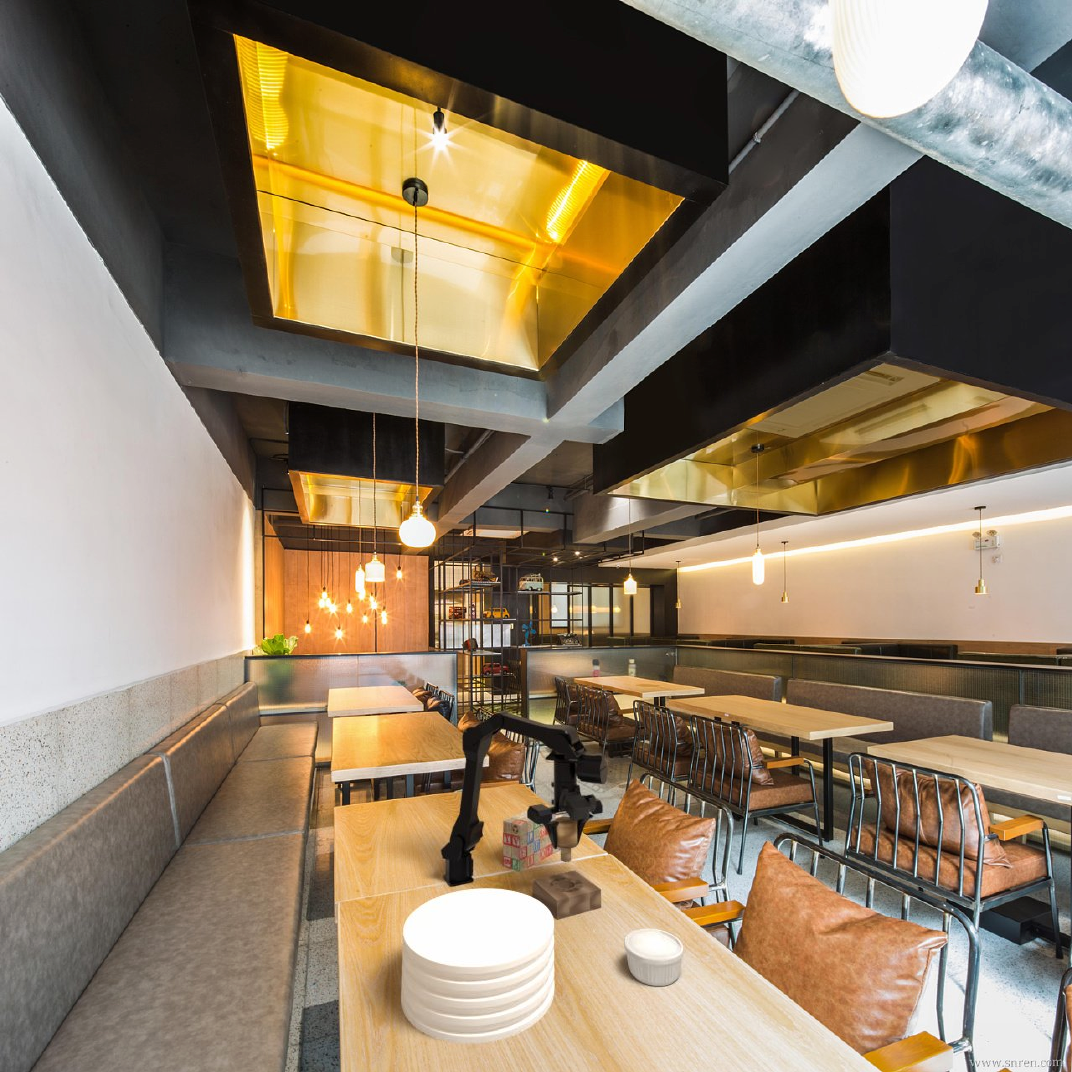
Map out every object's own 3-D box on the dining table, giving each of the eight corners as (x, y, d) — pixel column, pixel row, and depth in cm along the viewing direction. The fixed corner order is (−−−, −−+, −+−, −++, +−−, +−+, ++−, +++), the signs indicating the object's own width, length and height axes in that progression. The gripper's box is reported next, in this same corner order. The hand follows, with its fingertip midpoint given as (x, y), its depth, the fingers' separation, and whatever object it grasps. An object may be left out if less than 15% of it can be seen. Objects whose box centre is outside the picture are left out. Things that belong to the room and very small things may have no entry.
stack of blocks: (547, 843, 176) (547, 800, 178) (564, 848, 173) (564, 804, 174) (502, 866, 160) (502, 819, 161) (520, 872, 156) (520, 824, 158)
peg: (561, 866, 136) (561, 826, 138) (550, 857, 141) (549, 818, 143) (582, 861, 139) (581, 822, 140) (570, 853, 144) (569, 815, 145)
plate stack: (478, 932, 126) (479, 876, 127) (584, 982, 108) (583, 916, 110) (369, 997, 104) (371, 928, 106) (478, 1072, 87) (479, 988, 89)
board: (557, 919, 131) (556, 900, 131) (533, 897, 141) (533, 879, 142) (601, 907, 136) (600, 889, 137) (575, 887, 147) (574, 870, 147)
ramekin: (696, 976, 110) (695, 946, 111) (655, 998, 103) (655, 966, 104) (653, 950, 119) (652, 922, 120) (613, 968, 112) (612, 939, 113)
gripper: (547, 793, 132) (547, 866, 129) (615, 782, 140) (616, 851, 138) (526, 781, 142) (526, 849, 139) (590, 772, 150) (591, 836, 148)
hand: (565, 846), depth 141 cm, fingers closed on peg, 6 cm apart
